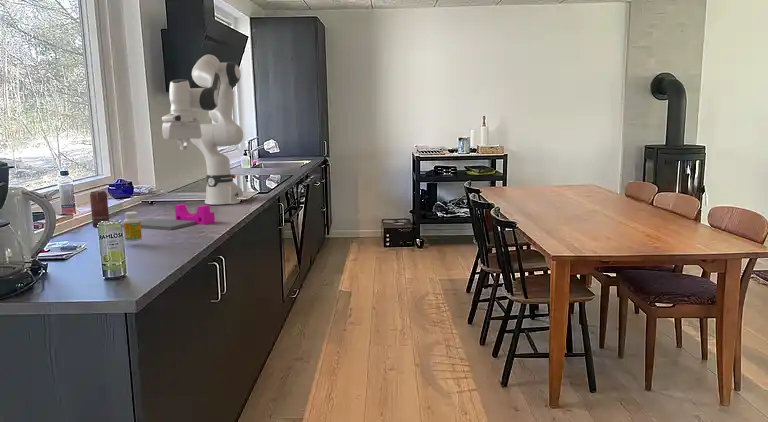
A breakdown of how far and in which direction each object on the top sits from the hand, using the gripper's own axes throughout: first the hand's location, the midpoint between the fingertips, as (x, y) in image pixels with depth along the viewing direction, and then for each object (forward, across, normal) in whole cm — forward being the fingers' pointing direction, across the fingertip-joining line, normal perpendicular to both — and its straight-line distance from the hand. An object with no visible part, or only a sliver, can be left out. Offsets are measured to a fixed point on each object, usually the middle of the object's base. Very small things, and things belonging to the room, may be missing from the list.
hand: (183, 149), depth 250 cm
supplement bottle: (+29, +50, +20) cm, 61 cm away
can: (+29, +32, -16) cm, 46 cm away
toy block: (+30, +13, +15) cm, 35 cm away
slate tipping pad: (+29, +23, +6) cm, 38 cm away
